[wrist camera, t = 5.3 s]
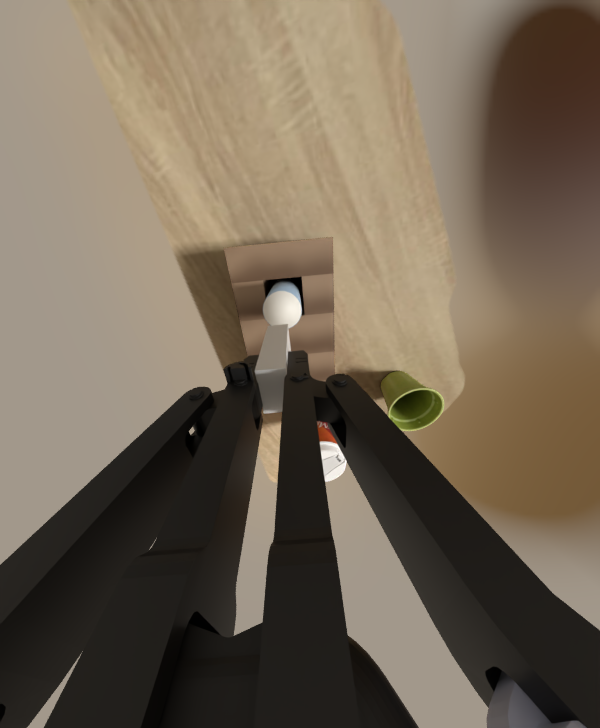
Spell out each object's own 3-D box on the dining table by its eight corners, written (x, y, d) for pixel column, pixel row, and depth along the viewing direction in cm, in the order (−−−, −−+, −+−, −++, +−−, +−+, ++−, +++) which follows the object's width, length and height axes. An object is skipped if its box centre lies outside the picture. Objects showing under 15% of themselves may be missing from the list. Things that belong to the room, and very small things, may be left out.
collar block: (242, 248, 33) (223, 247, 24) (322, 240, 32) (332, 236, 24) (265, 374, 43) (258, 406, 34) (326, 368, 43) (335, 399, 34)
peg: (269, 279, 29) (259, 292, 20) (297, 276, 29) (300, 288, 20) (273, 307, 31) (266, 331, 22) (300, 305, 31) (303, 327, 22)
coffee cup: (319, 383, 44) (330, 440, 31) (340, 408, 47) (358, 470, 34) (286, 403, 46) (284, 465, 33) (309, 426, 50) (315, 491, 36)
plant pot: (417, 397, 47) (442, 426, 39) (373, 405, 47) (389, 435, 40) (418, 359, 42) (446, 383, 35) (370, 369, 43) (387, 395, 35)
